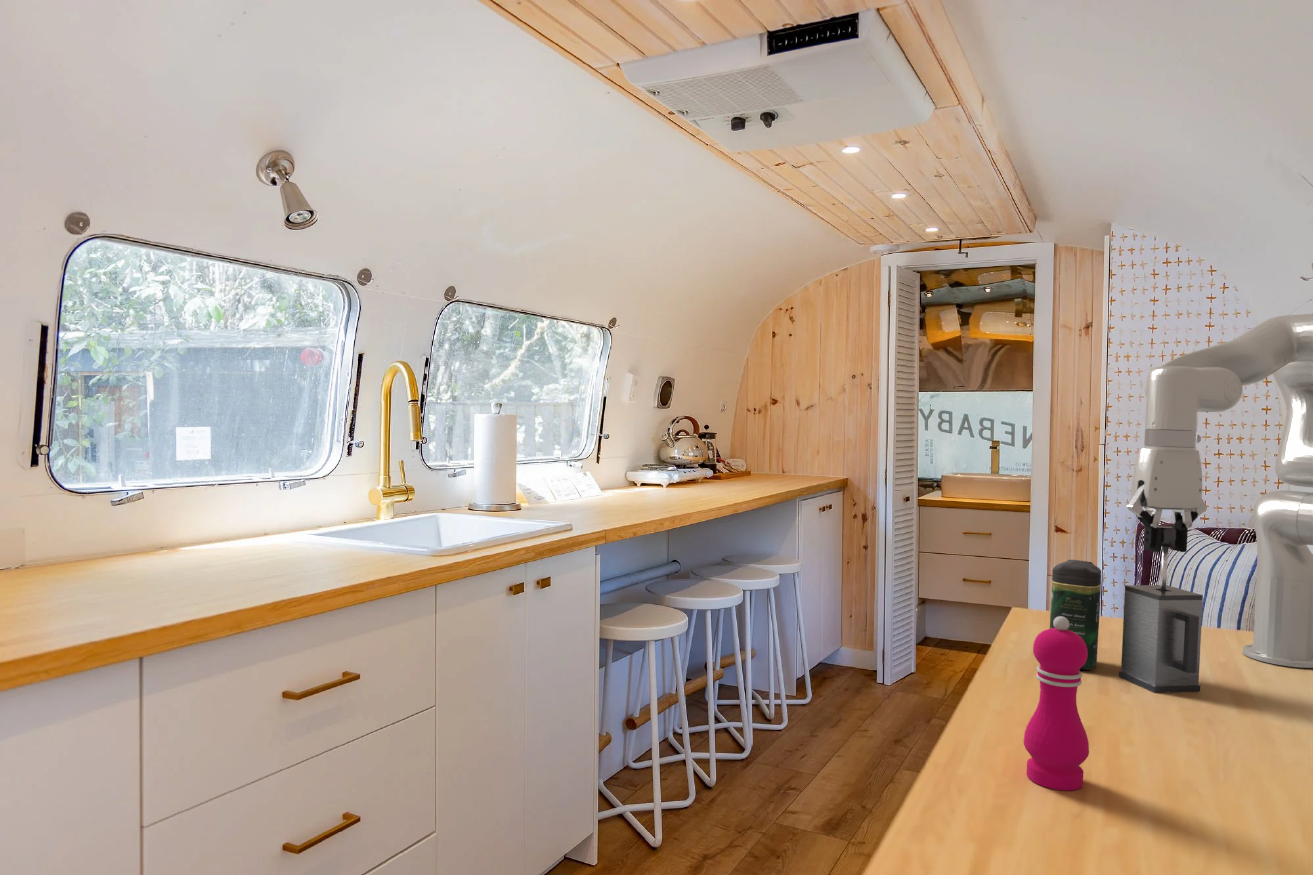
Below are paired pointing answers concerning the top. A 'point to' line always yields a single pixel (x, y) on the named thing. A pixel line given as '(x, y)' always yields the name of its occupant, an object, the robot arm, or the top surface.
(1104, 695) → the top surface
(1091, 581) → the coffee jar
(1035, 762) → the pepper mill
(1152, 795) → the top surface
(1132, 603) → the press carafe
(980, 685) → the top surface
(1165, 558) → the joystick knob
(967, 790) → the top surface
